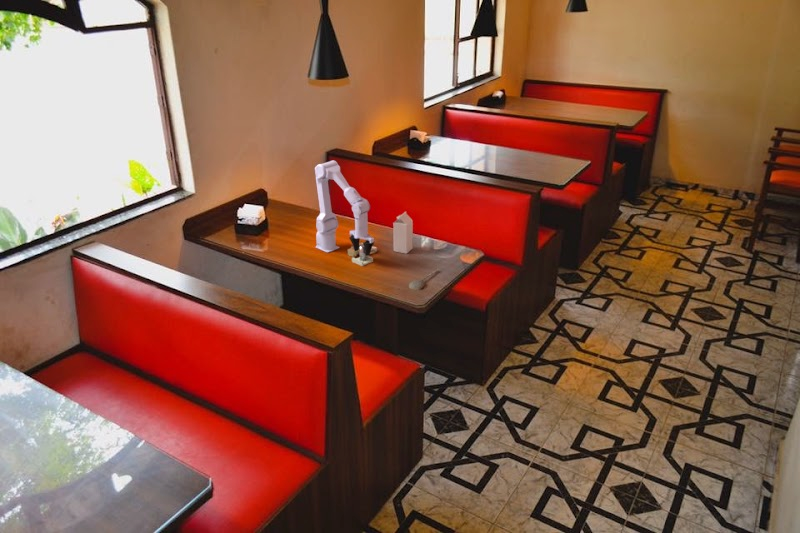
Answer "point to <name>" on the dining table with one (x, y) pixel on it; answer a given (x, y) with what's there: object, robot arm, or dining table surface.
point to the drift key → (352, 252)
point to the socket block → (371, 248)
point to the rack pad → (362, 263)
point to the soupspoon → (420, 282)
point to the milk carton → (403, 234)
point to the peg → (362, 253)
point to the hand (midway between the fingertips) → (362, 252)
